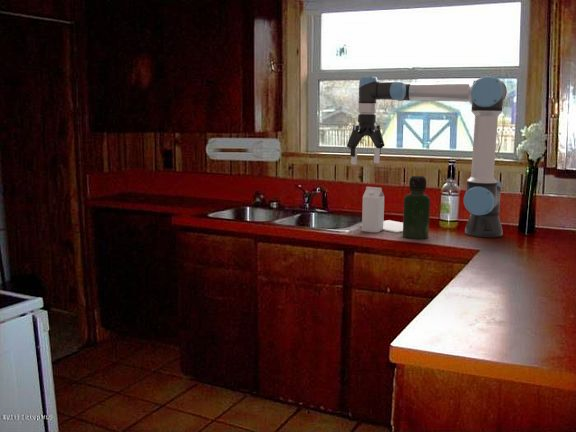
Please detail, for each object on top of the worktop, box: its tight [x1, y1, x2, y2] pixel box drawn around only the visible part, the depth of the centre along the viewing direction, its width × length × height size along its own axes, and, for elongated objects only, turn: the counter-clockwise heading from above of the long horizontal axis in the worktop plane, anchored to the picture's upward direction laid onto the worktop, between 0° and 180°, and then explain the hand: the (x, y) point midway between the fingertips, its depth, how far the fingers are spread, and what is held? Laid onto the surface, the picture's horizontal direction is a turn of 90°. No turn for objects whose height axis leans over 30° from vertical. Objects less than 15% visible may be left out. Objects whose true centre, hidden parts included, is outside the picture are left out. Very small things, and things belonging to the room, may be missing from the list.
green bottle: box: [402, 175, 431, 240], centre depth 256 cm, size 10×10×25 cm
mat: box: [359, 219, 403, 234], centre depth 280 cm, size 22×20×1 cm
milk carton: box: [361, 186, 385, 233], centre depth 269 cm, size 7×7×19 cm
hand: (365, 163), depth 270 cm, fingers open, 13 cm apart
